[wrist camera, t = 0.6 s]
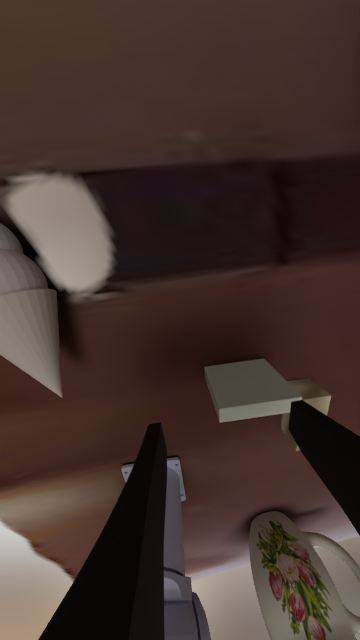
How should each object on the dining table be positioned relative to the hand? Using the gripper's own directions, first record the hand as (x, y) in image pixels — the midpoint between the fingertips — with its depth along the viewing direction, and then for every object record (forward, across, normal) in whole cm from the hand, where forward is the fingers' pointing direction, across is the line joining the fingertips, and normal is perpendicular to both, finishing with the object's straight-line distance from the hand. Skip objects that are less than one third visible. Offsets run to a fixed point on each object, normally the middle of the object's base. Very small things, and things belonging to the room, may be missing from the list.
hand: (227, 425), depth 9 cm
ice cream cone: (+10, +14, -6) cm, 18 cm away
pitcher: (+10, -10, +38) cm, 41 cm away
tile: (+10, -4, +4) cm, 11 cm away
